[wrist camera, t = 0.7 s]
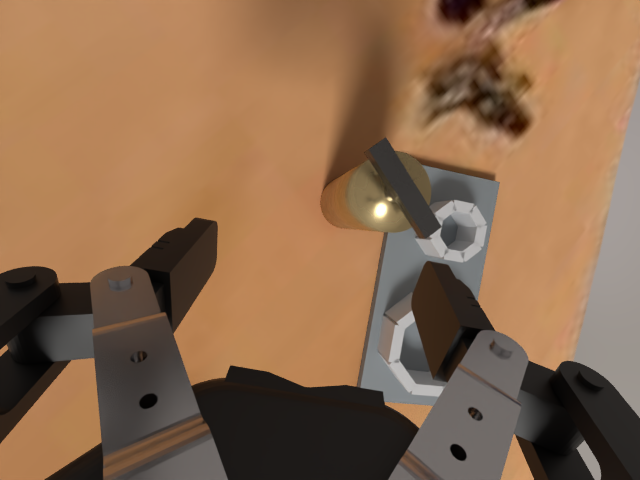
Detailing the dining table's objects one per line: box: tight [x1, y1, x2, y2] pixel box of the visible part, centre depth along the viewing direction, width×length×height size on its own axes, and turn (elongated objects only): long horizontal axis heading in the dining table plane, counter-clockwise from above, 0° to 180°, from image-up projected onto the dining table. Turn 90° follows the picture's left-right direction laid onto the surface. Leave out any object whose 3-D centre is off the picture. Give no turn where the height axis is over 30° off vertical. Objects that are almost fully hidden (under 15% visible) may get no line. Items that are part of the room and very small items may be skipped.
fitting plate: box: [357, 165, 500, 406], centre depth 31 cm, size 24×11×4 cm, turn 170°
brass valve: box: [320, 138, 442, 239], centre depth 25 cm, size 6×5×14 cm
